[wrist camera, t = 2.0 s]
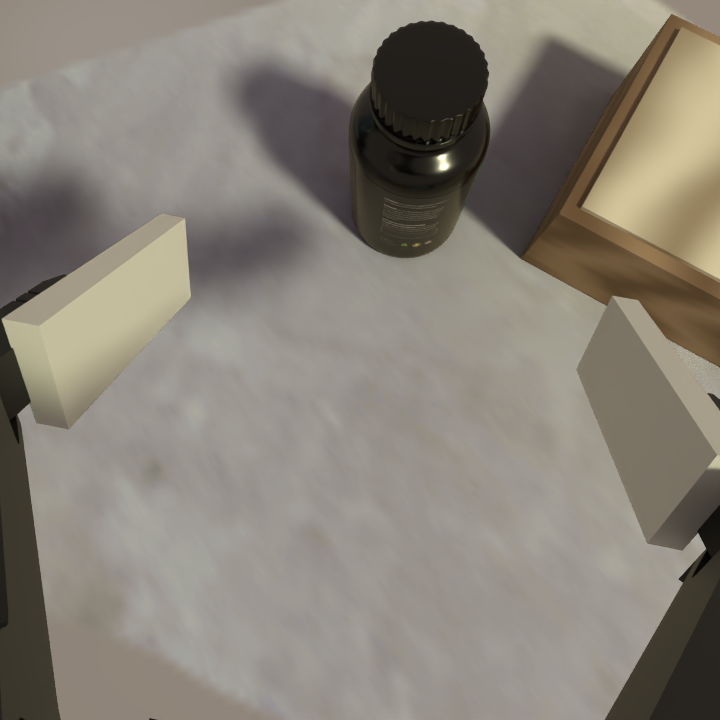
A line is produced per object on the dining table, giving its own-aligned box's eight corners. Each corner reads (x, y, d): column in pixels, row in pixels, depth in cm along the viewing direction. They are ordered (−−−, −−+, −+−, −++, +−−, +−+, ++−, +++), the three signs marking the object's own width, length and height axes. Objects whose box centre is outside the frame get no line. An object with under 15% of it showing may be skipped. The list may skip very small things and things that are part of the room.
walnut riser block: (521, 258, 31) (561, 211, 25) (615, 91, 33) (674, 10, 27) (724, 369, 30) (820, 349, 24) (809, 188, 32) (917, 126, 26)
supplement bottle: (478, 207, 32) (549, 63, 20) (409, 282, 31) (440, 178, 19) (399, 144, 32) (421, -31, 21) (329, 215, 31) (311, 75, 20)
